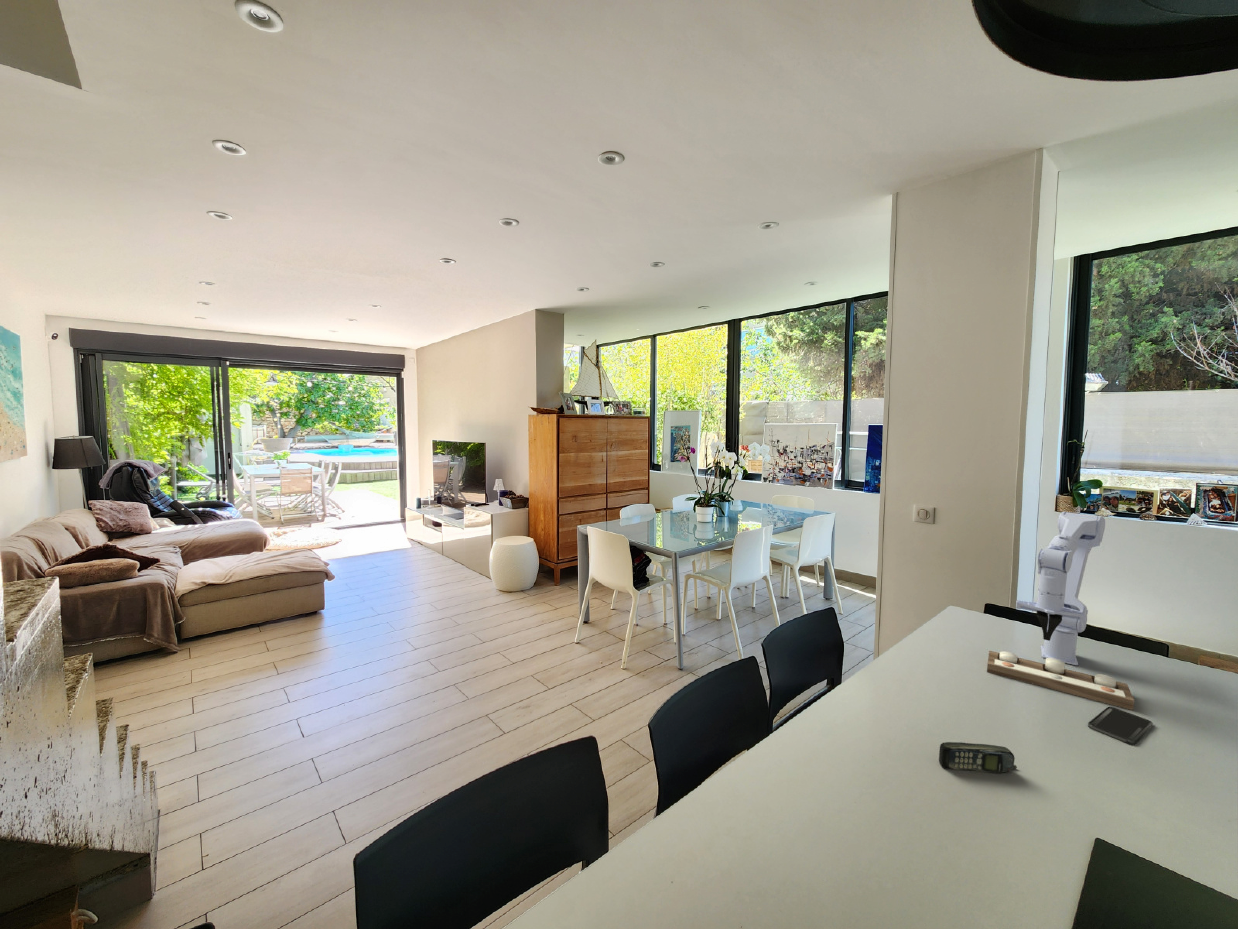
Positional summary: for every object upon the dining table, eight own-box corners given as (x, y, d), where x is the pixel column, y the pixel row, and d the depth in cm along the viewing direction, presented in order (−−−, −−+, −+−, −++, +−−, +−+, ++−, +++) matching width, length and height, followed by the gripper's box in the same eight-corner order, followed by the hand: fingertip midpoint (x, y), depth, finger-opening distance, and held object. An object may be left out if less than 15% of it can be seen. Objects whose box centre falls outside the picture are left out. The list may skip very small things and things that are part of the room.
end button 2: (999, 658, 146) (1000, 650, 146) (1016, 662, 144) (1017, 654, 144) (998, 663, 143) (999, 655, 143) (1016, 668, 141) (1017, 659, 141)
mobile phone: (944, 748, 101) (1024, 752, 100) (936, 739, 104) (1014, 742, 102) (943, 772, 101) (1023, 776, 100) (935, 762, 104) (1012, 765, 103)
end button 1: (1093, 681, 134) (1094, 672, 134) (1113, 686, 132) (1114, 677, 132) (1094, 687, 131) (1095, 678, 131) (1116, 693, 129) (1117, 683, 128)
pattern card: (994, 659, 143) (994, 658, 143) (1123, 691, 127) (1123, 690, 127) (994, 664, 140) (994, 663, 140) (1125, 697, 124) (1125, 696, 124)
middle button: (1044, 665, 140) (1045, 656, 140) (1063, 669, 138) (1064, 660, 138) (1045, 670, 137) (1046, 661, 137) (1064, 675, 135) (1065, 666, 134)
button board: (988, 658, 149) (989, 650, 149) (1126, 693, 131) (1127, 684, 131) (986, 672, 141) (987, 663, 141) (1133, 710, 123) (1134, 700, 123)
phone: (1086, 724, 116) (1109, 705, 124) (1086, 728, 116) (1108, 709, 124) (1133, 743, 110) (1154, 722, 117) (1133, 748, 110) (1154, 726, 117)
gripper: (1018, 589, 141) (1013, 636, 142) (1088, 602, 132) (1083, 651, 134) (1018, 583, 147) (1013, 628, 148) (1085, 594, 138) (1080, 642, 139)
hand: (1046, 639), depth 141 cm, fingers closed
